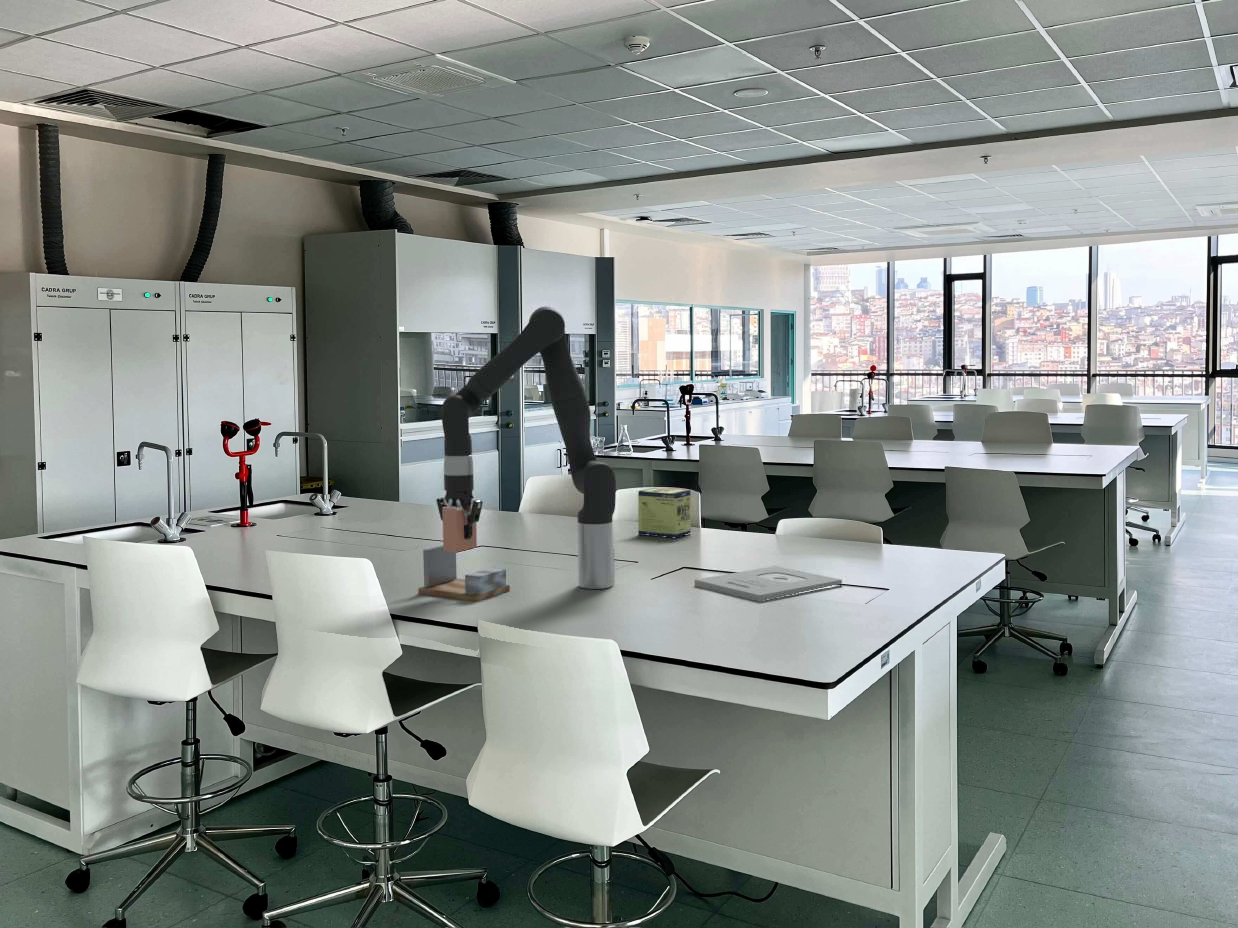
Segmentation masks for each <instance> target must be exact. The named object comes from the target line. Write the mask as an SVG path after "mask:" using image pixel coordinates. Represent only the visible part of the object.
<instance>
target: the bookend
mask: <svg viewBox="0 0 1238 928" xmlns="http://www.w3.org/2000/svg"><path fill="white" fill-rule="evenodd" d="M422 551H423V552H422V553H423V554H422V555H423V556H422V557H423V586H433V585H436V584H440V583H444V582H447V581H451V580H455V579H458V578H457V575H458V574H457V552H453V551H444V550H443V544H442V545H439V546H434V547H429V548H426V549H422Z"/></svg>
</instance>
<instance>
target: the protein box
mask: <svg viewBox="0 0 1238 928" xmlns="http://www.w3.org/2000/svg"><path fill="white" fill-rule="evenodd" d="M637 493H638V494H637V495H638V496H637V497H638V504H637V505H638V510H637V511H638V518H637V519H638V520H637V521H638V524H637V525H638V528H637V529H638V534H649V535H657V536H666V537H675V538H674V539H677V538H676V537H679V538H681V537H680V536H683V535H685V534H688V533H690V532H691V531H692V530H691V529H692V528H691V527H692V526H691V520H692V519H691V513H692V512H691V511H692V510H691V505H692V503H691V497H692V496H691V495H692V493H691V489H690V490H689V489H677V488H675V489H674V488H673V489H671V488H660V487H653V488H648V489H643V490H642V489H641V490H638V492H637ZM683 537H684V536H683Z"/></svg>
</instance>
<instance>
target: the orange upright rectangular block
mask: <svg viewBox="0 0 1238 928" xmlns="http://www.w3.org/2000/svg"><path fill="white" fill-rule="evenodd" d="M471 509H472V507H471ZM464 511H465V510H464ZM442 512H443V521H442V545H443V550H444V551H453V552H456V553H458V552H462V551H466V550H471V549H475V548H477V547H478V546H477V545H478V543H477V542H478V541H477V533H478V532H477V522H475V523H473V525H472V527H473V532H472V533H473V535H472V537H471V539H464V525H465V524H464V517H463V516H462V507H457V506H447V507H443V508H442ZM465 512H469V509H468V510H466V511H465ZM467 518H468V515H467Z"/></svg>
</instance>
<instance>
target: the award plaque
mask: <svg viewBox="0 0 1238 928" xmlns="http://www.w3.org/2000/svg"><path fill="white" fill-rule="evenodd" d="M841 583H842V584H843V579H840V578H836V577H831V576H826V575H821V574H815V573H811V572H806V571H801V570H797V569H791V568H787V567H782V566H776V565H773V566H767V567H762V568H755V569H749V570H744V571H737V572H732V573H725V574H719V575H715V576H708V577H701V578H697V579H694V587H696V588H697V587H698V588H702V589H705V590H709V591H714V592H718V593H722V594H725V595H729V596H733V597H737V596H738V597H737V598H741V597H743V598H742V599H745V598H748V599H747V600H749V599H753V600H756V601H755V602H757V601H763V600H767V599H772V598H777V597H782V596H786V595H792V594H796V593H799V592H804V591H809V590H814V589H818V588H823V587H827V586H832V585H836V584H841ZM753 600H752V601H753ZM763 602H764V601H763Z"/></svg>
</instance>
